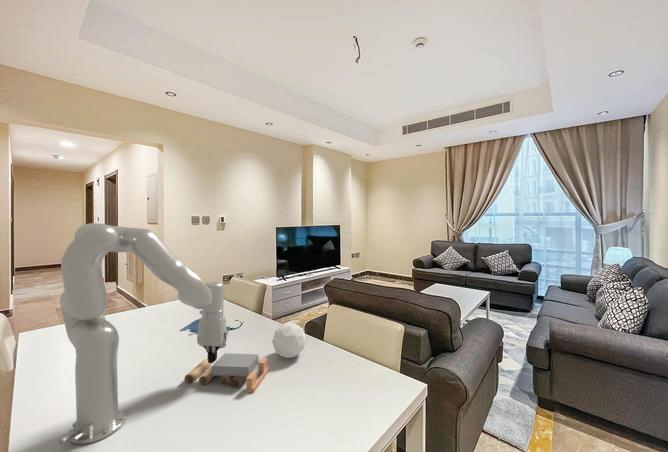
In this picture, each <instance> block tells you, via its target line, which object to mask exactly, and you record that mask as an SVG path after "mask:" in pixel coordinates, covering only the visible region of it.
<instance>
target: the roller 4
mask: <svg viewBox="0 0 668 452" xmlns="http://www.w3.org/2000/svg"><path fill="white" fill-rule="evenodd" d="M246 378H247V377H245V376H235V377H234V378H233V379H232V380H231V381H230V383H229V385H230V387H231V388H232V389H238V388H239V387H240V386H241V385H242V384H243V383H244V381H245V380H246Z"/></svg>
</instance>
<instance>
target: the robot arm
mask: <svg viewBox="0 0 668 452" xmlns="http://www.w3.org/2000/svg"><path fill="white" fill-rule="evenodd" d="M73 237H74V238H73V240H72V241H71V242H70V244H69V245H68V246H67V248H66V249H65V251H64V253H63V255H62V259H61V263H60V265H61V267H60V270H61V276H62V282H63V283H62V284H63V287H64V290H63V291H62V292H61V295H60V299H59V306H60V310H61V314H62V319H63V323H64V328H65V331H66V335H67V337H68V340H69V342H70V343H71V345H72V346H73V348H74V349H75V367H74V368H75V370H74V371H75V372H74V376H75V377H74V379H75V382H74V383H75V408H76V409H75V410H76V411H75V412H76V415H75V416H76V421H75V422H73V423H72V428H71V429H70V430H69V431H68V432H67V433H66V434H65V435H63V436H62V437H59V438H58V440H57V443H58V445H59V446H61V447H62V446H64V445H66V444H67V443H69V441H70V442H71V443H72V444H75V445H87V444H90V443H91V444H92V443H94V442H97V441H100V440H103V439H105V438H107V437H109V436H111V435H112V434H114V433H115V432H116V431H118V430H119V429H120V428H121V427H122V425H123V424H124V423H125V420H126V419H125V418H126V416H125V413H124V412H123V411H121V410H119V392H118V391H119V390H118V389H119V387H118V385H119V383H118V381H119V380H118V355H119V354H118V353H119V345H120V335H119V332H118V330H117V328H116V327H115V326H114V325H113V324H112V323H111V322H110V321H108V320H107V319H106V316H105V312H106V310H107V308H108V305H109V296H108V294H107V289H106V285H105V281H104V276H103V269H102V268H103V267H102V265H103V260H104V258H105V256H106V255H107V254H109V252H110V253H129V254H133V255H134V256H135V257H136V258H137V259H138V260H139V261H140V262H141V263H143V264H144V266H146V268H147V269H148V270H149V271H150V272H151V273H152V274H153V275H154V276H155V277H156V278H158V279H159V280H161V281H162V282H163V283H165V284H167V285H169V286H171V287H172V288H173V289H174V290H176V291H178V293H177V298H178V301H180V302H181V303H182V304H184V305H186V306H189V307H192V308H193V309H197V310H200V311H199V315H201V317H200V318H199V319H200V321H199V326H198V333H197V334H196V343H197V345H198V346H200V347H203V348H204V349H205V352H206V353H207V359H208V363H211V364H214V363H215V362H216V361H217V360H218V350H220V349H224V348H226V346H227V343H226V342H227V340H228V339H227V338H228V337H227V336H228V334H227V332H228V330H227V329H226V327H227V320H226V318H225V316H224V293H225V292H224V291H225V290H224V289H225V288H224V287H225V286H224V284H223V282H221V281H209V282H204V281H203V279H201V278H200V277H199V276H198V275H197V274H196V273H195V272H193V271H192V270H191V268H189V267H188V266H187V265H186V264H185V263H184V262H182V261H181V260H180V259H179V258H178V257H177V256H176V255H175V254H174V253H173V251H172V250H170V248H169V247H168V246H167V245H166V244H165V243H164V241H163V240H162V239H161V238H160V237H159V236H158V235H157V234H156V233H155V232H154V231H152V230H150V229H147V228H141V227H139V228H138V227H127V226H126V227H125V226H119V225H118V226H117V225H109V224H106V223H105V224H104V223H95V222H92V223H90V222H89V223H85V224H83V225H81V226H80V227H78V228H77V229H76V230H75V233H74V235H73Z"/></svg>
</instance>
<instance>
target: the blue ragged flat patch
mask: <svg viewBox="0 0 668 452" xmlns="http://www.w3.org/2000/svg"><path fill="white" fill-rule="evenodd" d="M234 320H235V321H239V320H240V319H234ZM199 321H200V318H198V319H195V320H194V321H192V322H190V323H189V324H188V325H186V326H184V327H182V328H180V329H179V332H186V331H188V332H190V334H188V336H193V335H197V333H198V326H199ZM233 328H234V327H233ZM226 329H227V335H228V332H229V330H232V329H231V328H230V326H226ZM236 329H238V327H237V328H234V329H233V330H236Z"/></svg>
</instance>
